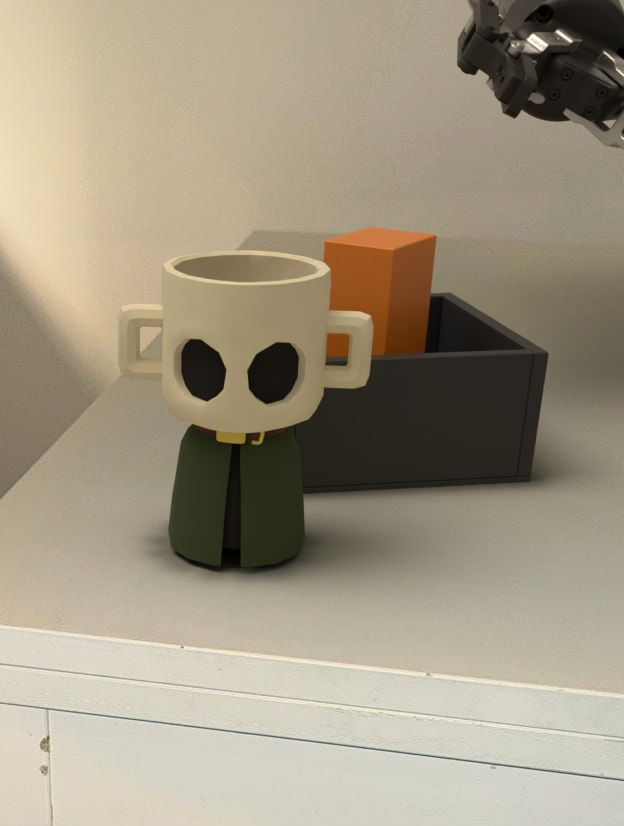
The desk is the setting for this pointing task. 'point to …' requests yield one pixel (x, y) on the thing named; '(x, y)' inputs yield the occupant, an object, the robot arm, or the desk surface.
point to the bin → (431, 411)
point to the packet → (382, 286)
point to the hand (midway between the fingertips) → (590, 135)
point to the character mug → (242, 391)
